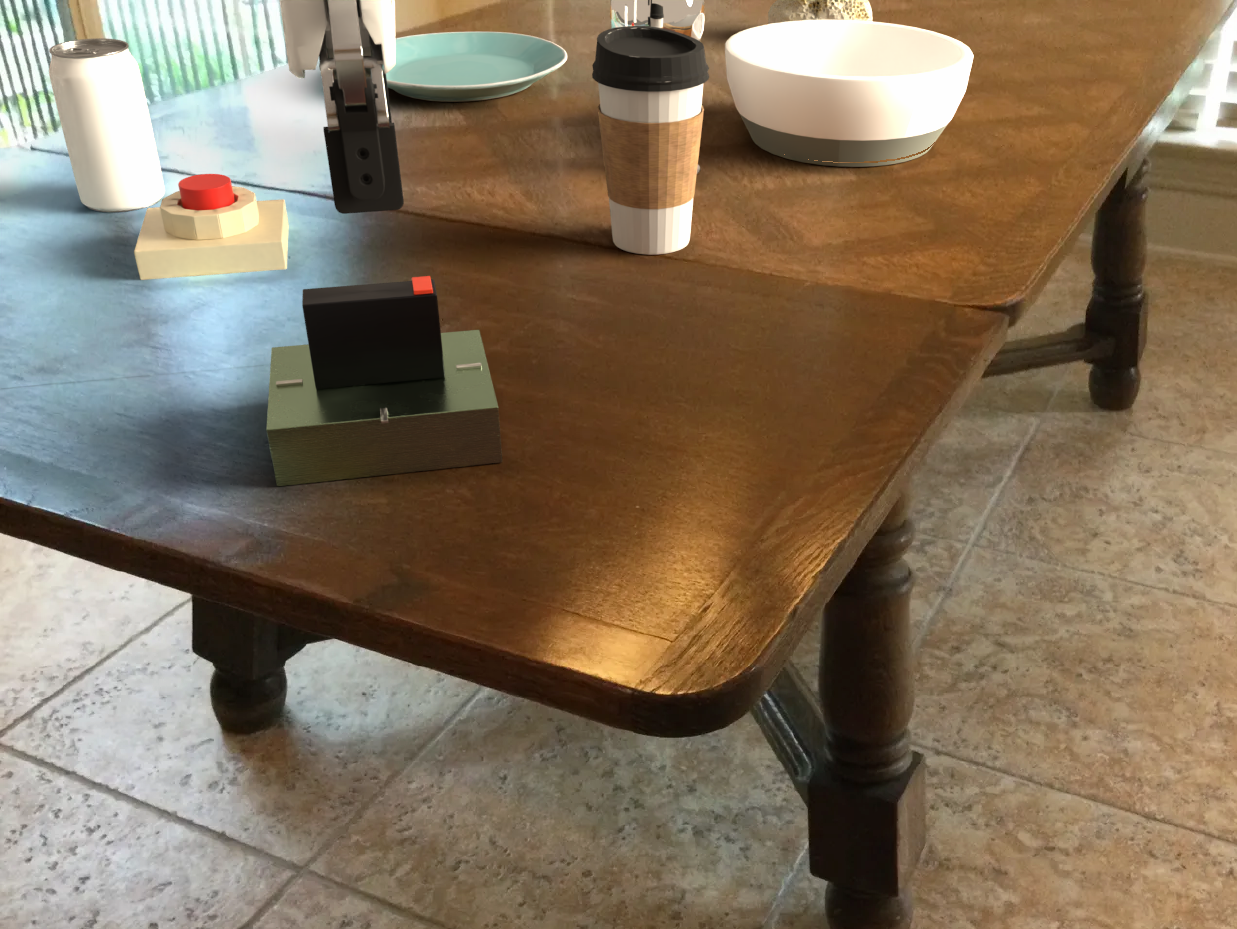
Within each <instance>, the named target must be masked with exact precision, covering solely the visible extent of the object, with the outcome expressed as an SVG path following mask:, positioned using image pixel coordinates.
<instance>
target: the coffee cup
mask: <svg viewBox="0 0 1237 929" xmlns="http://www.w3.org/2000/svg"><path fill="white" fill-rule="evenodd" d="M591 66H592V73H591V79H593V80H594V81H595V82H596V83H597V86H598V95H599V96H598V97H599V104H598V106H597V113H598V121H599V131H600V140H601V148H602V155H603V165H604V173H605V181H606V191H607V197H608V204H609V214H610V226H611V235H612V236H611V237H612V243H613V244H614V246H616V248H619V249H620V250H623V251H625V252H628V253H631V254H632V253H633V254H638V255H648V256H651V255H652V256H653V255H665V254H671V253H674V252H678V251H680V250H683V249H685V247H687V246H688V245H689V243H690V240H691V231H692V230H691V229H692V217H693V208H694V207H693V206H694V198H695V192H696V184H697V183H696V182H697V177H696V175H697V166H698V164H699V156H700V147H701V138H702V128H703V122H704V121H703V120H704V111H705V108H704V105H702V104H703V94H704V93H703V92H704V84H705V83H707V81H709V78H710V74H709V70H710V67H709V65H708V62H707V59H706V52H705V46H704V44H703V42H702V41H701V40H700V41H699V40H697V39H695V38H692V37H690V36H688V35H685V34H682V33H679V32H675V31H672V30H668V29H663V28H658V27H651V26H625V27H616V28H611V27H610V28H608V29H606V30H604V31H602V32H600V33H599V34H598V35H597V37H596V47H595V58H594V62H593V63H592V65H591Z"/></svg>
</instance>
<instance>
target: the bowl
mask: <svg viewBox="0 0 1237 929" xmlns="http://www.w3.org/2000/svg"><path fill="white" fill-rule="evenodd" d="M724 57H725V58H724V59H725V72H726V82H727V84H728V88H729V91H730V93H731V97H732V101H733V103H734V106H735V109H736V111H737V112H738V114H739V115H740V117H741V119H742V122H743V124H744V125H745V127H746V129H747V132H748V134H749V135H750V138H751V140H752V141H753V143H754V144H755V146H758V147H759V148H760V149H762V150H764V151H765V152H767V153H770V154H772V155H775V156H778V157H781V158H784V159H786V160H792V161H796V162H800V163H804V164H812V165H818V166H828V167H829V166H830V167H839V168H841V167H842V168H843V167H844V168H845V167H847V168H863V167H865V168H867V167H881V166H888V165H889V166H890V165H895V164H900V163H901V164H902V163H906V162H909V161H912V160H915V159H918V158H920V157H922V156H923V155H925V154H928V152H929V151H930V150H931V149H932V147H933V146H934V144H935V143H936V141H937V140H938V139H939V137H940V136H941V134H942V133H943V132H944V130H945V129H946V128H947V126H948V125H949V123H950V122H951V121H952V119H953V117H954V116H955V114H956V112H957V110H958V108H959V106H960V104H961V102H962V99H963V98H964V95H965V94H966V91H967V87H968V83H969V79H970V74H971V69H972V65H973V60H974V54H973V51H972V50H971V48H970V47H969V46H968V45H967V44H965V43H963V42H962V41H960V40H958V39H956V38H953V37H951V36H948V35H946V34H942V33H939V32H936V31H933V30H928V29H924V28H920V27H915V26H909V25H904V24H898V23H889V22H881V21H873V20H872V21H858V20H802V21H788V22H780V23H772V24H763V25H758V26H753V27H750V28H746V29H743V30H740V31H738V32H736V33H735V34H733V35H731V36H730V37H729V38H728V39H727V40H726V41H725V43H724ZM934 142H935V143H934ZM933 143H934V144H933ZM932 144H933V145H932ZM931 145H932V146H931ZM930 146H931V147H930ZM928 147H930V148H929V149H928V150H926V151H925V152H923V153H921V154H918V155H915V156H912V157H909V158H905V159H900V160H895V161H887V162H878V163H833V162H864V161H880V160H886V159H897V158H901V157H906V156H909V155H912V154H916V153H918V152H921V151H923V150H925V149H927V148H928ZM784 154H785V155H784ZM808 159H809V160H808ZM814 160H818V161H814ZM822 161H833V162H822Z"/></svg>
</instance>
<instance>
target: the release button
mask: <svg viewBox="0 0 1237 929" xmlns="http://www.w3.org/2000/svg"><path fill="white" fill-rule="evenodd" d="M177 185H178V191H180V196H181V201H182V206H183V208H184V209H189V210H197V211H199V210H214V209H218V208H222V207H226V206H230V205H231V204H233V203H235V200H234V195H233V190H232V186H233V184H232V180H231V178H230V177H229V176H227V175H225V174H221V173H220V174H219V173H200V174H195V175H190V176H187V177H185V178H182V179H181V180H180V181H179V182H178V183H177Z"/></svg>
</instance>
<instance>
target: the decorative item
mask: <svg viewBox="0 0 1237 929" xmlns="http://www.w3.org/2000/svg"><path fill="white" fill-rule="evenodd" d="M802 20H858V21H872V22H873V11H872V6H871V3H870V1H869V0H776V1H774V2H772V4H771V5H770V6H769V10H768V12H767V22H768V24H772V23H780V22H788V21H802Z"/></svg>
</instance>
